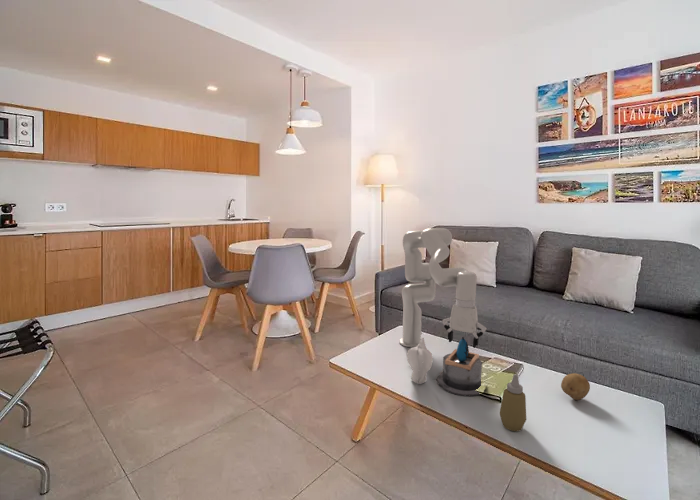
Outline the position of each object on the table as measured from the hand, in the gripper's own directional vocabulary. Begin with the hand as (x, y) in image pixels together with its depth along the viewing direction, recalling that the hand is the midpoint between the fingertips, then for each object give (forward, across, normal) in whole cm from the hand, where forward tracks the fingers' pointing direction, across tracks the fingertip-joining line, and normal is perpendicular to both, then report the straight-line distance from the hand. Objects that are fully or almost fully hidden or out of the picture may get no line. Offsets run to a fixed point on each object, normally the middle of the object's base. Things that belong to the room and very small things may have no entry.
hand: (462, 343), depth 144 cm
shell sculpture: (+17, -14, -8) cm, 24 cm away
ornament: (+7, 0, 0) cm, 7 cm away
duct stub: (+17, 0, 0) cm, 17 cm away
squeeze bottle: (+17, +22, -20) cm, 34 cm away
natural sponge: (+17, +40, +12) cm, 44 cm away
